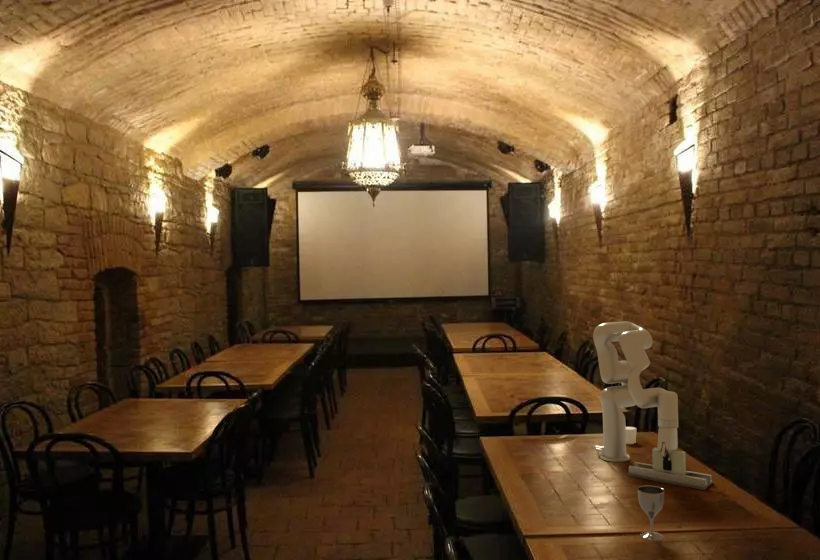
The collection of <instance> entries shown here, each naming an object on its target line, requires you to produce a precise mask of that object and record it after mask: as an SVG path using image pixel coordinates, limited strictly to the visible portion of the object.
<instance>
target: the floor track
mask: <svg viewBox="0 0 820 560" xmlns="http://www.w3.org/2000/svg"><path fill="white" fill-rule="evenodd" d="M626 475H627V477H632V478H638V479H642V480H648V481H652V482H653V481H654V482H660V483H665V484H670V485H674V486H675V485H676V486H679V487H680V486H681V487H686V488H690V487H691V489H697V490H702V491H706V490H707V489H708V488H710V486H711V485H712V484H713V483H714V482H713V480H712V474H709V473H704V472H703V473H702V472H696V471H691V470H690V471H689V470H686V475H681V474H675V473H670V472H664V471H658V470H653V464H649V463H643V462H638V461H635V462H634V465H629V466H628V472H627V474H626Z"/></svg>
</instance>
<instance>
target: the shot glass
mask: <svg viewBox="0 0 820 560" xmlns="http://www.w3.org/2000/svg"><path fill="white" fill-rule="evenodd" d="M636 441H637V427H635V426H626V445H634V443H635V444H636Z"/></svg>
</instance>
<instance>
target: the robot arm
mask: <svg viewBox="0 0 820 560" xmlns="http://www.w3.org/2000/svg"><path fill="white" fill-rule="evenodd" d="M592 334H593V335H592V337H593V344H594V346H595V348H596V349H595V350H596V352H597V359H598V360H597V361H598V368H599V373H600V377H601V378H600V379H601V380H602V382H603V383H605V384H610V385H611V384H618V383H619V384H621V385H615V386H608V387H605V388H604V389H602V390H601V391H600V394H599V401H600V404H601V410H602V412H601V413H602V434H603V435H602V437H603V439H602V440H603V445H602V446H601V445H595V451H596V452H600V455H599V457H600V459H601V460H602V461H603V460H604V461H606V462H613V463H622V462H623V463H624V462H628V461H630V459H631V456H630V455H629V453H627V444H626V427H627V426H626V424H627V423H626V416H625V414H624V412H623V410H622V409H623V408H629V407H634V406H637V408H640V409H648V408H649V409H650V408H657V426H658V430H657V431H658V432H657V448H658V452H661V451H662V452H661V456H662V457H663V458H662V459H663V470H668V471H671V470H672V464H671V460H670V458H671V452H673V451H674V450H677V449H678V445H679V442H678V441H679V440H678V428H679V403H678V401H679V399H678V397H679V396H678V394H677V392H675V391H670V390H666V389H664V388H662V387H651V388H643V386H642V385H641V381H640V376H641V373H642V372H643V371H644V370H646V369H647V368H648V367H649V366H650V364H651V361H650V358H649V357H648V354H647V353H646V350H648V349H650V348H651V347H652V345H653V336H652V335H651V333H650V331H648V330H647V329H646V328H643V327H641V326H639V325H637V324H636V323H633V322H631V321H612V322H611V321H610V322H603V323H600V324H598V325H597V326H595V328H594V330H593V333H592ZM612 342H618V343H619V346H620V348H621V350H622V353H623V355H624V358H625V360H619V354H618V349H616V347H615V346H614V344H613V343H612ZM666 451H668V452H666ZM666 454H668V455H666Z"/></svg>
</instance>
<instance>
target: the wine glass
mask: <svg viewBox="0 0 820 560" xmlns="http://www.w3.org/2000/svg"><path fill="white" fill-rule="evenodd" d="M637 498H638V503H639V506H640V508H641V509H642V510H643V511H644V513H645V514H646V515H647V516H648V519H649V526H650V531H643V532H644V533H643V532H641V533H642V534H641V533H640V535H639V536H640V537H641V538H642V539H644V540H645V541H646V540H647V541H652V542H656V541H658V542H659V541H662V540H664V538H665V537H664V535H663V534H662V533H659V532H656V531H654V520H655V517H656V516H657V515H658V514H659V513H660V511H662V510H663V506H664V503H665V489H664V488H663V487H660V486H658V485H657V486H656V485H649V484H645V485H640V486H638V487H637Z"/></svg>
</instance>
